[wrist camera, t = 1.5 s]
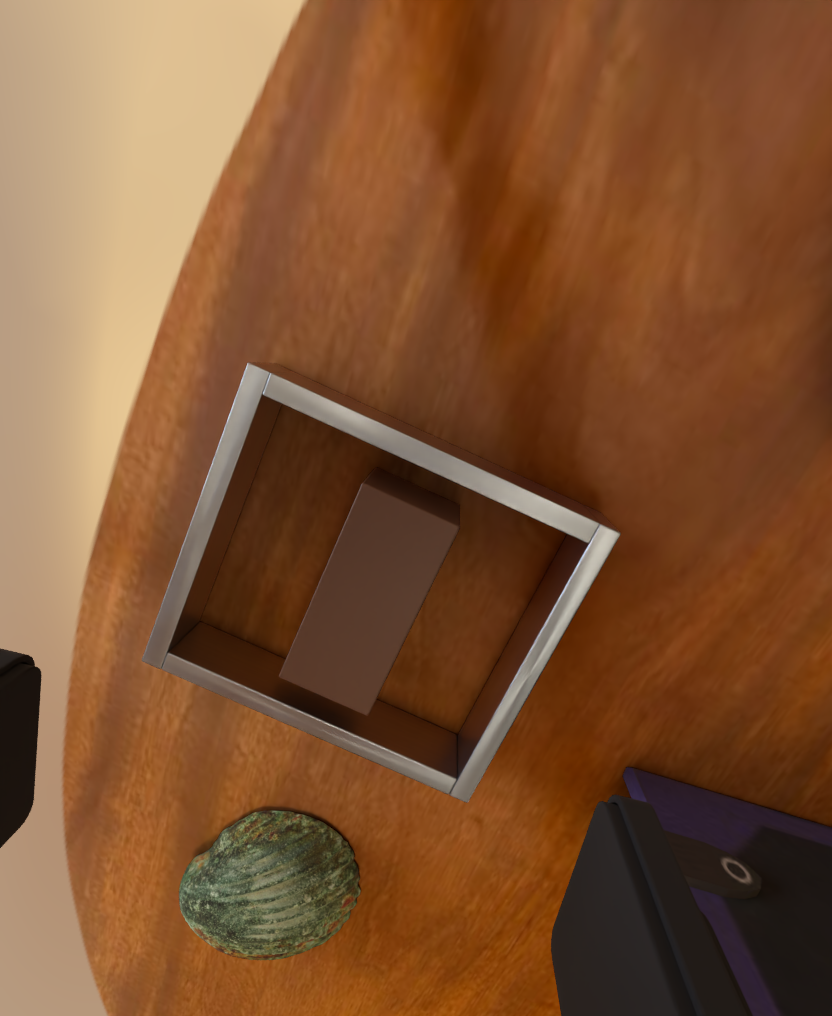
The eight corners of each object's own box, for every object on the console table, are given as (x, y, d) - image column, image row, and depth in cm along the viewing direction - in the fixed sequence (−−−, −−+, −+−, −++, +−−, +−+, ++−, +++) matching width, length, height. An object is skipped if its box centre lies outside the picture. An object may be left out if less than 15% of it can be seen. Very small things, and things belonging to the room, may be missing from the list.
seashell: (318, 1039, 31) (141, 981, 31) (333, 966, 35) (177, 915, 35) (373, 885, 29) (185, 824, 29) (382, 828, 33) (218, 774, 33)
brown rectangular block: (301, 637, 30) (277, 677, 26) (375, 466, 27) (362, 482, 24) (379, 672, 30) (367, 716, 26) (460, 504, 28) (460, 526, 24)
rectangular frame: (176, 628, 30) (141, 661, 27) (274, 362, 27) (247, 361, 23) (466, 756, 31) (467, 804, 27) (601, 512, 27) (622, 533, 24)
